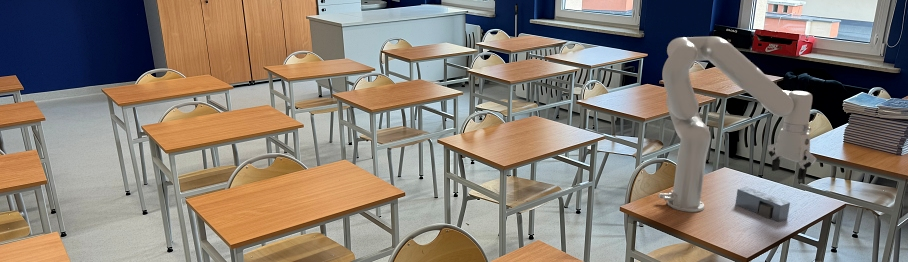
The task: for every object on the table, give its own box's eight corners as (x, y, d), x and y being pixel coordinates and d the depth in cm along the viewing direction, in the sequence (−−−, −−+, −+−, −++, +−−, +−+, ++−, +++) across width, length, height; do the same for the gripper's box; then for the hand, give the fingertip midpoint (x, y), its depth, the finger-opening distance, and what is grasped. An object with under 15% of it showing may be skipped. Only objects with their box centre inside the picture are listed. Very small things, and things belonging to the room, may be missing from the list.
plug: (768, 218, 223) (770, 208, 222) (758, 214, 226) (759, 204, 225) (787, 212, 229) (789, 202, 228) (776, 208, 232) (778, 198, 231)
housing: (778, 221, 221) (781, 205, 219) (735, 204, 235) (737, 189, 233) (787, 219, 223) (790, 202, 222) (744, 202, 237) (746, 186, 236)
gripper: (826, 132, 215) (818, 180, 220) (778, 120, 230) (771, 165, 235) (813, 135, 212) (805, 184, 217) (765, 122, 226) (758, 169, 231)
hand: (787, 174), depth 226 cm, fingers open, 9 cm apart
